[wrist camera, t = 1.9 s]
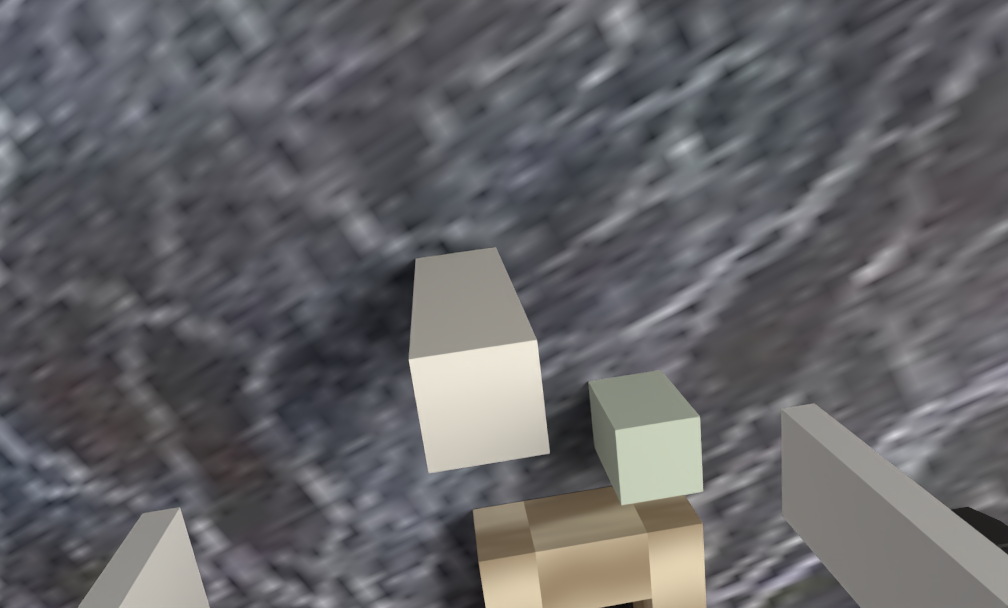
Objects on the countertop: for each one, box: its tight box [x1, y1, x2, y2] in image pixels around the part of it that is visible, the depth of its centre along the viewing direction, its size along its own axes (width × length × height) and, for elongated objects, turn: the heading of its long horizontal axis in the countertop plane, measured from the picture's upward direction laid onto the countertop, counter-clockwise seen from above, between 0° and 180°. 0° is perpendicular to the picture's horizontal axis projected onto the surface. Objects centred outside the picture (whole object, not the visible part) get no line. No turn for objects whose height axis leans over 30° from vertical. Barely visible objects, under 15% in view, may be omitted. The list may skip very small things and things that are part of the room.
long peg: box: [409, 247, 550, 473], centre depth 25 cm, size 4×4×12 cm
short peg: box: [588, 370, 703, 505], centre depth 31 cm, size 4×4×5 cm
